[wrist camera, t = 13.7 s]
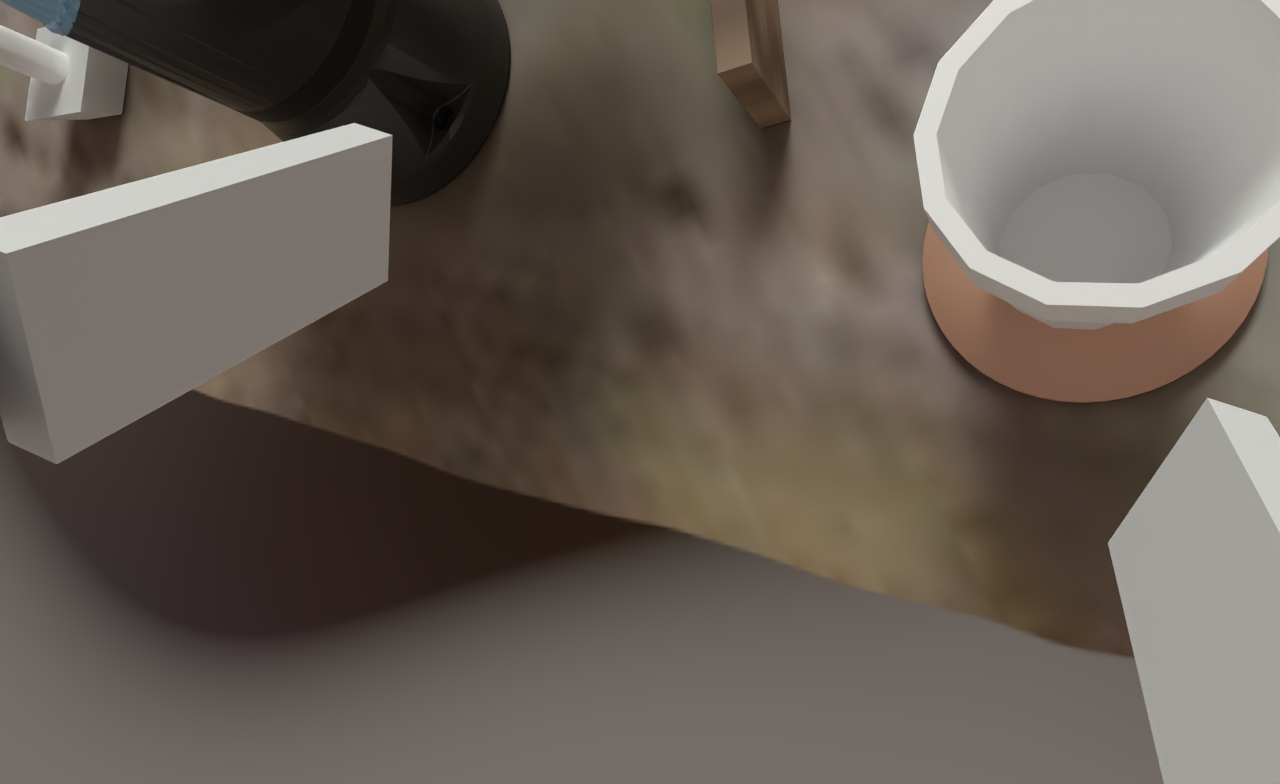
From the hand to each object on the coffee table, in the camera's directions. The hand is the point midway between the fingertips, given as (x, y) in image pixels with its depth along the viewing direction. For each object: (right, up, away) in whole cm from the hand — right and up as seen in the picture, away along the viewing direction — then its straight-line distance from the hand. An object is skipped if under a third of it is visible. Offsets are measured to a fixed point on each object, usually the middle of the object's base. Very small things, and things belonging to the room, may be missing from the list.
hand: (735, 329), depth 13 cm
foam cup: (+16, +5, +19) cm, 25 cm away
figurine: (-43, +23, +50) cm, 70 cm away
